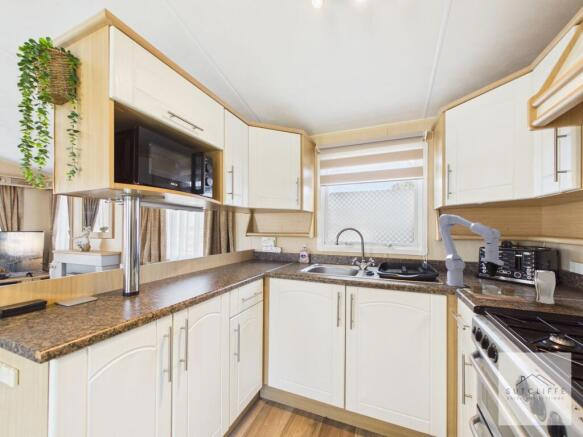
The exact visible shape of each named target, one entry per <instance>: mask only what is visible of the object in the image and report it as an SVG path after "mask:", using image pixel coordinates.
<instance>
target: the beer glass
mask: <svg viewBox="0 0 583 437" xmlns="http://www.w3.org/2000/svg"><path fill="white" fill-rule="evenodd" d="M533 279H534V286H535V289H536V295H537V296H536V298H535V301H536V302H537V303H542V304H547V305H548V304H549V305H555V300H554V292H555V288H556V274H555V272H554V271H550V270H540V269H537V270H536V269H535V270H534V278H533Z"/></svg>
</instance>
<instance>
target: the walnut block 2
mask: <svg viewBox="0 0 583 437" xmlns="http://www.w3.org/2000/svg"><path fill="white" fill-rule="evenodd" d="M515 290H516V289H515V288H514V287H512V286H504V285H501V286H500V291H501V294H503V295H505V296H515V295H516V293H515Z"/></svg>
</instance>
